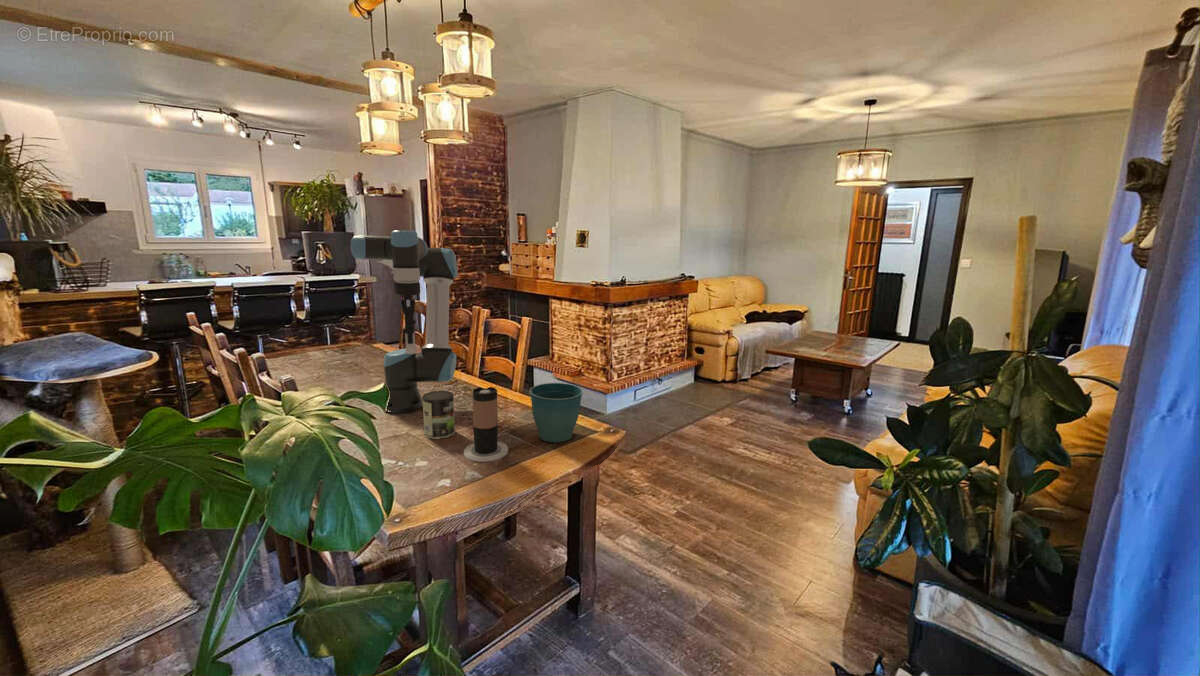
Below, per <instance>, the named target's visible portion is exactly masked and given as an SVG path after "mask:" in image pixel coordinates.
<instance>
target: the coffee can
mask: <svg viewBox="0 0 1200 676" xmlns="http://www.w3.org/2000/svg"><path fill="white" fill-rule="evenodd" d="M454 396H455V395H454V392H452V391H450V390H433V391H430V392H426V393H424V394H423V395H422V396H421V397H422V400H423V406H422V408H423V409H422V410H423V411H422V412H423V413H422V414H423V428H424V429H423V430H424V436H426V437H425V438H427V437H428V438H427V439H430V438H433V439H432V440H440V438H443V439H446V437H447V438H449V436H450V437H451V435H452V436H453V435H454V434H455V432H456V431H455V410H454V406H455V405H454Z"/></svg>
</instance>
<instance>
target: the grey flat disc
mask: <svg viewBox="0 0 1200 676" xmlns="http://www.w3.org/2000/svg"><path fill="white" fill-rule="evenodd" d="M508 453H509V446H508V444H506V443H504V442H501V441H499V440H497V450H496V451H495V452H493V453H489V454H479V453H477V452H475V447H474V442H473V443H471V444H468V445H467V446H466V447H464V450H463V456H464V458H465V459H466V460H468V461H472V462H475V463H488V462H495V461H498V460H500V459H503V458H504V457H506V456H507V455H508Z"/></svg>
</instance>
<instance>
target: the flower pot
mask: <svg viewBox="0 0 1200 676" xmlns="http://www.w3.org/2000/svg"><path fill="white" fill-rule="evenodd" d="M529 395H530V400H531V411H532V416H533V417H532V418H533V421H534V423H535V427H536V429H537V434H538V438H539V439H541V440H542V441H545V442H547V443H563V442H567V441H569V440H570V439H572V438H573V435H574V434H573V433H574V429H575V427H576V424H577V422H578V420H579V416H580V415H579V414H580V409H581V401H582V395H583V389H582V388H581V387H579V386H577V385H575V384H571V383H564V382H547V383H541V384H537V385H534V386H533V387H531V388H530V390H529Z"/></svg>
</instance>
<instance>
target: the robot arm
mask: <svg viewBox="0 0 1200 676" xmlns="http://www.w3.org/2000/svg"><path fill="white" fill-rule="evenodd" d="M350 251H351V255H352V256H353V257H354V259H357V260H371V261H374V262H376V263H380V264H382V265H385V266H387V267H388V268H390V269H391V271H390V273H391V275H393V281H395V282H394V283H393V291H394V294H395V295H396V296H402V297H403V299H401V301H400V304H401V308H402V309H401V310H402V315H404V330H402V334H404V339H405V340H404V341H405V348H401V349H400V348H399V349H395V350H391V351H389V352H387V353H386V354H385V355H384V357H383V370H384V383H385V384H386V385H387V386H388V388H389V391H390V399H389V402H388V406H387V412H386V413H388V410H389V411H391V412H393V413H392V414H406V413H410V412H414V411H417V410H420V409H421V408H423V399H422V396H421V395H422V394H421V393H420V390H419V387H418V383H442V382H443V383H444V382H445V383H446V382H447V383H448V382H451V380H452V379H453V378H454V376H455V371H456V366H457V354H456V353H455V352H453V347H451V346H450V343H449V338H450V337H449V331H450V329H449V328H450V327H449V326H450V324H449V323H450V286H451V285H452V284H453V283H454V279H455V278H458V276H459V275H458V273H459V270H458V262H457V257H456V255H455V252H454V250H453V249H451V248H444V247H428V244H427V242H426V241H425V240H424V239H423V238H421V237H419V236H418V233H417V231H415V230H399V229H398V230H396V229H395V230H392V231H391V233H390V235H388V236H385V235H365V234H363V235H354V236H352V238H351V240H350ZM421 277H422V278H423V279H422V281H423V282H424V283H425V284H426V317H425V318H426V319H425V320H426V321H425V323H426V324H425V326H426V328H425V344H424V345H423V346H422V347H421V352H417V351H416V334H415V324H416V320H415V319H414V314H416V313H415V311H416V310H415V307H416V300H415V299H413V296H418V295H420V294H421V283H420V280H421ZM386 385H385V386H386Z"/></svg>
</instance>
